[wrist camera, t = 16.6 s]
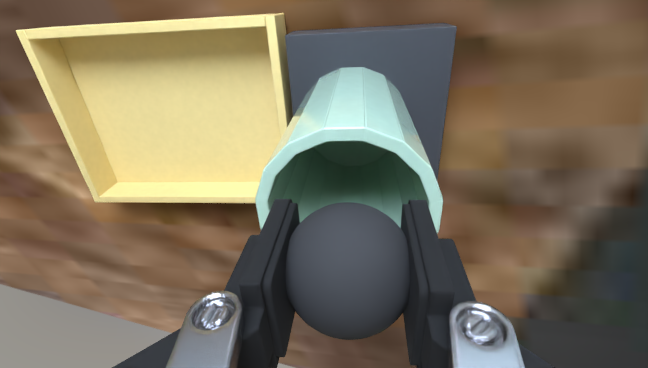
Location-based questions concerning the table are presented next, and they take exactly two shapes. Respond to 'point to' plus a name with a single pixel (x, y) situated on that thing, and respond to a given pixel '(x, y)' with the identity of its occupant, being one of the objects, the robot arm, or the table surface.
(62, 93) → the tray
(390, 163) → the jar
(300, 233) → the ball
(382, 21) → the table surface
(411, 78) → the stand
